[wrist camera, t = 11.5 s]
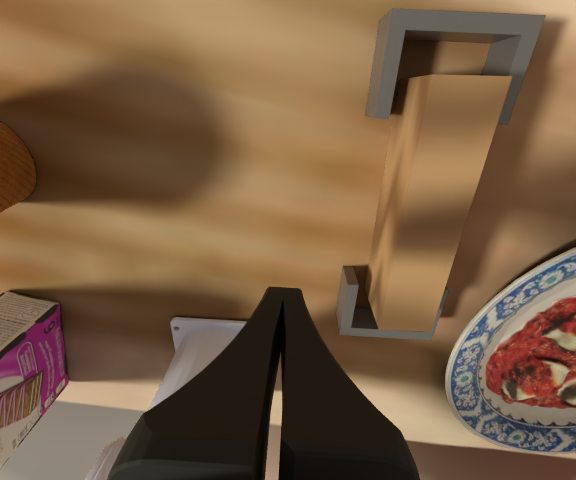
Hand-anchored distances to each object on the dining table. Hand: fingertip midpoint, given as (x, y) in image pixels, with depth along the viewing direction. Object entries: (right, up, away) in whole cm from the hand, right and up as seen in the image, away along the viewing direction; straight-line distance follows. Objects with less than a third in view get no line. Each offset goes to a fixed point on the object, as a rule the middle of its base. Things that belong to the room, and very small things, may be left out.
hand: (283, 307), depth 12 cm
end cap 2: (+9, +12, +5) cm, 16 cm away
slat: (+8, +6, +9) cm, 13 cm away
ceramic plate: (+27, -7, +14) cm, 31 cm away
